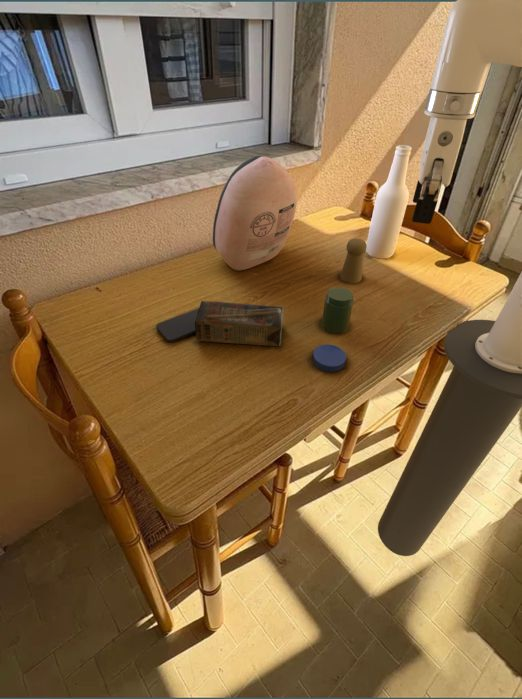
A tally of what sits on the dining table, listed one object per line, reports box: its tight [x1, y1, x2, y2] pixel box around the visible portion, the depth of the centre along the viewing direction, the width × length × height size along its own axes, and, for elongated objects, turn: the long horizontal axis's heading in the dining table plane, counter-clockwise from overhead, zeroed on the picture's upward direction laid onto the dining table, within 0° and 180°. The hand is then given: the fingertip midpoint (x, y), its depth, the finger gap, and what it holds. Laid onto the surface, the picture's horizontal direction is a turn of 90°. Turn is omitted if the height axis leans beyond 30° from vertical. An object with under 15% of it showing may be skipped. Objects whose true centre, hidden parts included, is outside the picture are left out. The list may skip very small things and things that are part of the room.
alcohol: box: [365, 144, 413, 259], centre depth 109 cm, size 9×9×30 cm
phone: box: [156, 308, 199, 343], centre depth 90 cm, size 7×1×15 cm
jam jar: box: [320, 286, 355, 335], centre depth 88 cm, size 6×6×9 cm
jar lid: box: [312, 344, 347, 373], centre depth 81 cm, size 7×7×2 cm
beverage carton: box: [195, 300, 284, 347], centre depth 85 cm, size 8×19×7 cm, turn 86°
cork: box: [339, 238, 367, 284], centre depth 104 cm, size 6×6×11 cm
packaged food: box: [212, 155, 298, 272], centre depth 103 cm, size 22×20×30 cm
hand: (420, 212), depth 71 cm, fingers open, 9 cm apart
